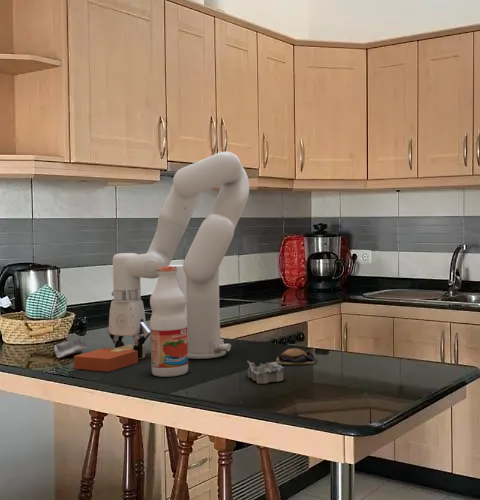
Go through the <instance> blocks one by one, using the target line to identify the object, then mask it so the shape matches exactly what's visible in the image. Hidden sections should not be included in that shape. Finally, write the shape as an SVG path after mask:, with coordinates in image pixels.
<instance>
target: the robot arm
mask: <svg viewBox="0 0 480 500" xmlns="http://www.w3.org/2000/svg"><path fill="white" fill-rule="evenodd" d="M219 186H220V187H219ZM217 187H219V191H218V194H217V196H216V198H215V200H214V203H213V204H212V208H211V209H210V211H209V214H208V215H207V217H205V219H203V220H202V222H201V224H200V226H199V228H198V230H197V232H196V234H195V236H194V239H193V241H192V243H191V245H190V247H189V249H188V252H187V253H186V256H185V258H184V260H183V264H182V265H183V269H184V273H185V275H186V302H187V303H186V306H187V338H188V359H191V360H192V359H193V360H204V359H214V358H219V357H222V356H225V355H226V354H227V352H230V351H231V348H232V344H231V343H225V341H224V338H221V318H220V317H221V316H220V315H221V314H220V311H221V310H220V266H221V264H222V262H223V259H224V257H225V256H226V253H227V251H228V250H229V247H230V246H231V245H230V244H231V243H232V240H233V238H234V234H235V230H236V227H237V225H238V222H240V221H239V220H240V218H241V216H242V213H243V211H244V209H245V206H246V204H247V201H248V199H249V195H250V181H249V177H248V174H247V172H246V170H245V168H244V167H243V165H242V163H241V159H240V158H239V157H238V156H237V155H236V154H235V153H233V152H231V151H221V152H218V153H215V154H213V155H210V156H208V157H206V158H204V159H203V158H202V159H201V160H198V161H196V162H194V163H191V164H189V165H186V166H183V167H181V168H179V169H178V170H177V171H176V172H175V174H174V176H173V178H172V186H171V188H170V190H169V193H168V195H167V197H166V200H165V202H164V203H163V206H162V208H161V210H160V212H159V215H158V218H157V226H156V231H155V233H154V236H153V238H152V241H151V243H150V245H149V247H148V249H147V252H146V253H139V254H138V253H136V252H120V253H115V254H114V255H113V257H112V283H113V286H112V287H113V291H111V295H112V296H113V300H111V302H110V307H109V315H108V326H107V328H105V332H106V334H107V335H108V336H109V338H110V339H111V340H112V343H113V344H114V348H117V347H121V346H125V342H124V341H123V340H124V337H132V340H133V342H134V344H133V345H134V346H133V349H134V350H137V351H138V360H140V359H139V358H141V359H143V358H142V357H143V346H144V344H145V342H146V341H147V340H148V338H150V328H149V327H148V326H147V324H146V323H147V322H146V312H145V306H144V301H143V300H142V295H141V293H142V291H141V290H142V289H141V279H158V277H159V274H158V272H157V268H158V267H163V266H169V265H171V262H172V260H173V258H174V256H175V253H176V251H177V249H178V247H179V244H180V242H181V239H182V237H183V236H184V234H185V233H186V230H187V227H188V225H189V223H190V220H191V218H192V216H193V213H194V211H195V210H196V207H197V205H198V203H199V200H200V198H201V196H202V193H205V192H208V191H209V190H212V189H215V188H217Z"/></svg>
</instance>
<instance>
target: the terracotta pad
mask: <svg viewBox="0 0 480 500" xmlns="http://www.w3.org/2000/svg"><path fill="white" fill-rule="evenodd" d="M111 350H114V349H113V348H111V347H110V348H109V347H102V348H99V349H95V350H91V351H87V352H83V353H80V354H76V355H73V368H74V370H83V371H85V370H86V371H94V372H106V373H109V372H113V371H116V370H119V369H122V368H126V367H129V366H132V365H136V364H138V363H139V359H138V351H137V350H124V351H121V352H117V351H111Z"/></svg>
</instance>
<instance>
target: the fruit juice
mask: <svg viewBox="0 0 480 500" xmlns="http://www.w3.org/2000/svg"><path fill="white" fill-rule="evenodd" d="M176 271H177V268H176V266H163V267H158V268H157V272H158V274H159V277H158V278H157V282H156V286H155V288H154V289H153V292H152V293H151V295H150V297H149V305H150V308H151V316H150V318H149V319H150V320H149V330H150V336H149V338H150V363H151V364H150V365H151V366H150V367H151V374H152V375H153V376H155V377H159V378H160V377H161V378H169V377H170V378H171V377H177V376H183V375H186V374H187V373H188V372H189V358H188V339H187V318H186V315H185V312H184V308H185V304H186V298H185V295H184V293H183V292H182V290H181V289H180V287H179V285H178V282H177V279H176Z"/></svg>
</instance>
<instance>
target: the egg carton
mask: <svg viewBox="0 0 480 500" xmlns="http://www.w3.org/2000/svg"><path fill="white" fill-rule="evenodd" d="M246 363H247V364H248V365H249V367H248V368H247V377H248V378H249V379H251V380H252V381H255V382H256V383H257V384H263V385H265V384H269V383H273V382H274V383H275V382H281V381H285V379H284V376H285V375H284V366H283V365H282V364H277V363H276V361H273V362H265V363H266V364H263V363H262V362H261V363H260V364H259V366H256V363H254V362H250V360H247V361H246Z"/></svg>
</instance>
